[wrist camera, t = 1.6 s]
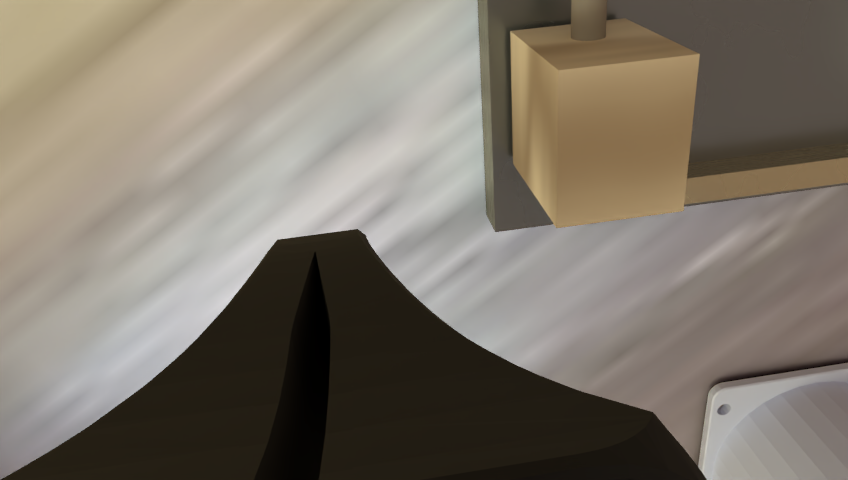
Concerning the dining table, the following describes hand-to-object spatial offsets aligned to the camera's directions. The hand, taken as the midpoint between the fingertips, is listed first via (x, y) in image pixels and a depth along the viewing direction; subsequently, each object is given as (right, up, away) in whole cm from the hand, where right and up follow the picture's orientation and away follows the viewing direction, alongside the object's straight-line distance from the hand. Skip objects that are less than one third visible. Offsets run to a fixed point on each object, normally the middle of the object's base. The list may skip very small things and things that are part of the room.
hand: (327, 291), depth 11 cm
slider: (+5, +7, +6) cm, 11 cm away
